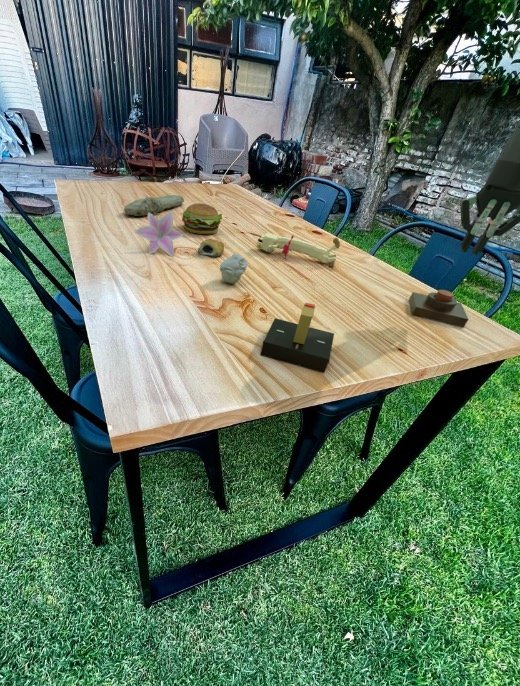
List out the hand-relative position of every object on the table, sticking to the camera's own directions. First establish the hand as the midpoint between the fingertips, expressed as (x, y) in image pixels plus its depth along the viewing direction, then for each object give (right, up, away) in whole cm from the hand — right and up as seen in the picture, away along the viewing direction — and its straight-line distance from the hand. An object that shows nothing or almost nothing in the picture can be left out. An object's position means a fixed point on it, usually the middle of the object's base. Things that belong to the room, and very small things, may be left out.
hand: (468, 252), depth 78 cm
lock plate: (-42, -24, -11) cm, 49 cm away
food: (-63, +25, +42) cm, 80 cm away
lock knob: (-41, -22, -13) cm, 48 cm away
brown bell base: (-2, -11, +10) cm, 15 cm away
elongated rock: (-81, +41, +56) cm, 107 cm away
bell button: (-1, -9, +7) cm, 11 cm away
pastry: (-59, +11, +26) cm, 65 cm away
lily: (-74, +10, +22) cm, 78 cm away
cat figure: (-33, +12, +31) cm, 47 cm away
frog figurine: (-53, -4, +10) cm, 55 cm away
